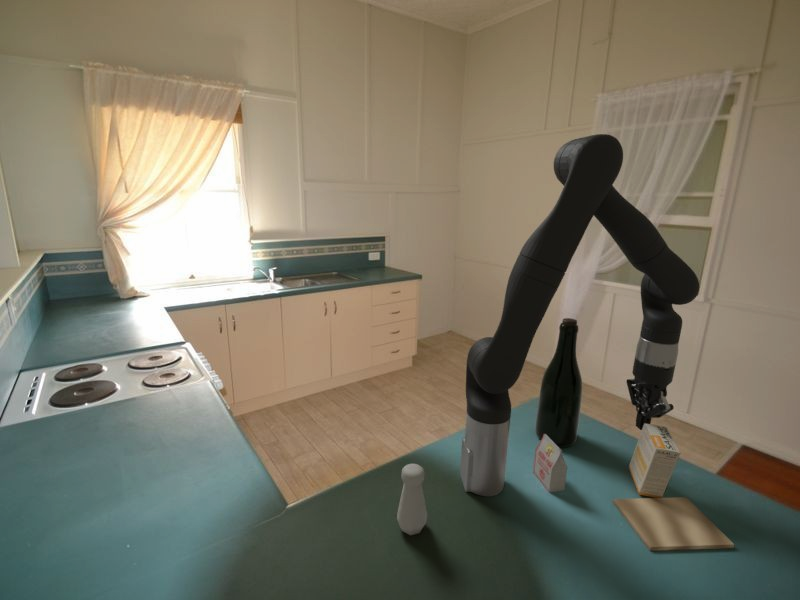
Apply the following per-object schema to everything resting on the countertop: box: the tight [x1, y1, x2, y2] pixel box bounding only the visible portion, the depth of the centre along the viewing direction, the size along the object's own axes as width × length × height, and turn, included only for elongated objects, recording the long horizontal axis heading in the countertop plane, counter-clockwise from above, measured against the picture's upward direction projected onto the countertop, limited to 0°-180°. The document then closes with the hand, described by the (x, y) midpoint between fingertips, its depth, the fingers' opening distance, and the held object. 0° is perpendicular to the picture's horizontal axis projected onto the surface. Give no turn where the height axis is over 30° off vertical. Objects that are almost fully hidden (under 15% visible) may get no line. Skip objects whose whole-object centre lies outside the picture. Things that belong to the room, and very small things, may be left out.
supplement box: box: [628, 423, 681, 498], centre depth 87 cm, size 8×5×13 cm, turn 167°
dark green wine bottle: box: [534, 317, 583, 448], centre depth 104 cm, size 10×10×33 cm
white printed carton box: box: [532, 434, 568, 493], centre depth 90 cm, size 4×7×10 cm, turn 11°
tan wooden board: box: [612, 496, 735, 552], centre depth 79 cm, size 16×12×1 cm
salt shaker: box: [396, 463, 428, 536], centre depth 76 cm, size 6×6×13 cm
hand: (641, 428), depth 92 cm, fingers closed
